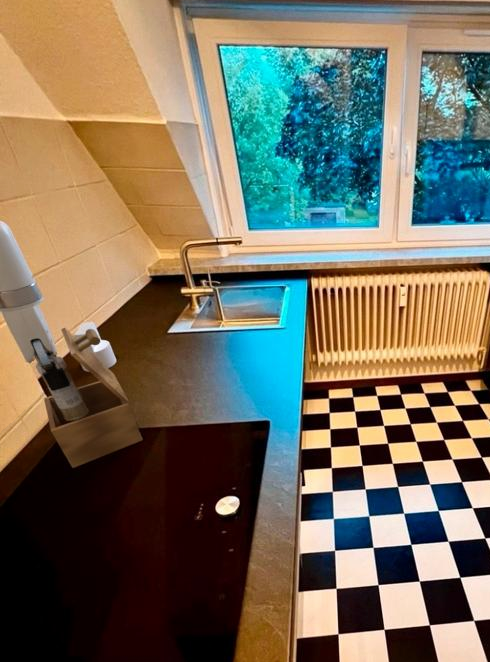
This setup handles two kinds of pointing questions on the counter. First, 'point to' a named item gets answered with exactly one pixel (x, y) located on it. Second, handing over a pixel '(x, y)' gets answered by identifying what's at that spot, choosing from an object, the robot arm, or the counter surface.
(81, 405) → the sprinkles bottle
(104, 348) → the cylinder with rectangular tab
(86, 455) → the chest
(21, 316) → the robot arm
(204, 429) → the counter surface
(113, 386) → the lid
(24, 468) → the counter surface
